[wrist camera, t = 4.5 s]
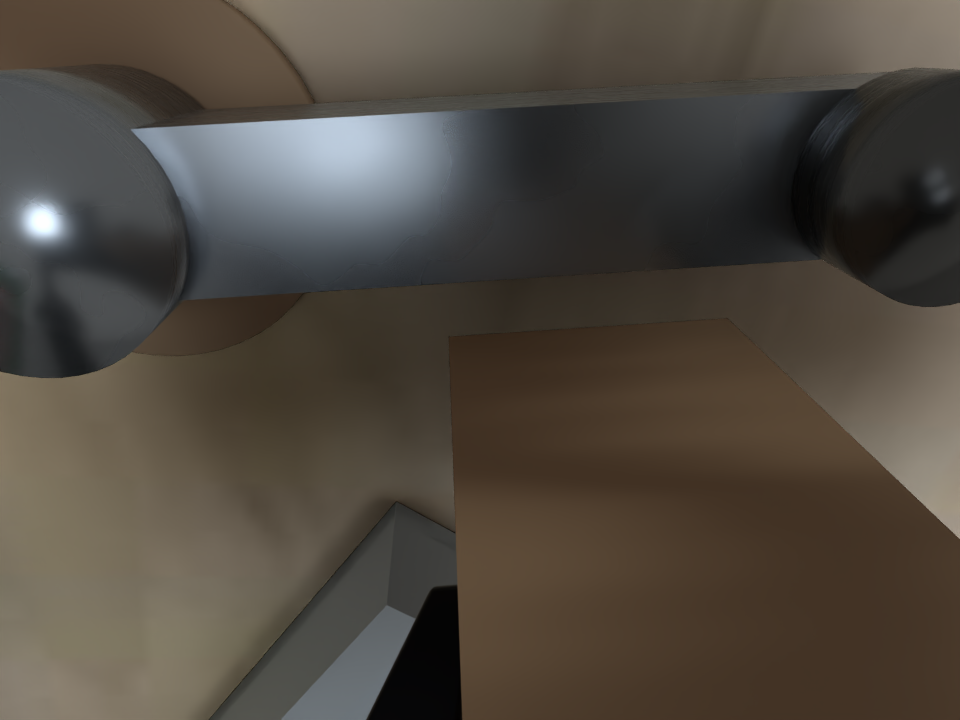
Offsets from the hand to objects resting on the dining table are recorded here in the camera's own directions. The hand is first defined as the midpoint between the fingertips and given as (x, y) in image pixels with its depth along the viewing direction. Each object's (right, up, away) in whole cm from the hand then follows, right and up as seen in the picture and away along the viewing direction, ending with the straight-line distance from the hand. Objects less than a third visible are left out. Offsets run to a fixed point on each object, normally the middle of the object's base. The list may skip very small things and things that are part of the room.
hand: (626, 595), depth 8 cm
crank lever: (-2, +6, +3) cm, 7 cm away
